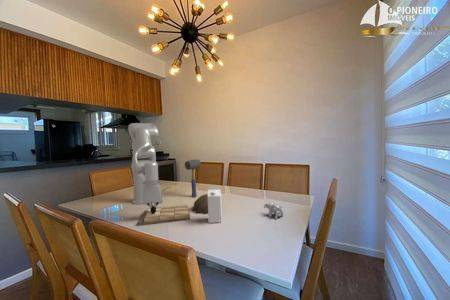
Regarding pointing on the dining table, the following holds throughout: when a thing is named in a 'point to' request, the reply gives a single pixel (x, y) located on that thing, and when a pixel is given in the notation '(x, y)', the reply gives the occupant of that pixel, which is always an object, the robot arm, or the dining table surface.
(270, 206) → the elephant statuette
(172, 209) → the floor board
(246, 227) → the dining table surface
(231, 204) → the dining table surface
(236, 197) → the dining table surface
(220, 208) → the milk carton
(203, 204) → the decorative dome
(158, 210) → the loose plank
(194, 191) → the rubber mallet
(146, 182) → the robot arm
